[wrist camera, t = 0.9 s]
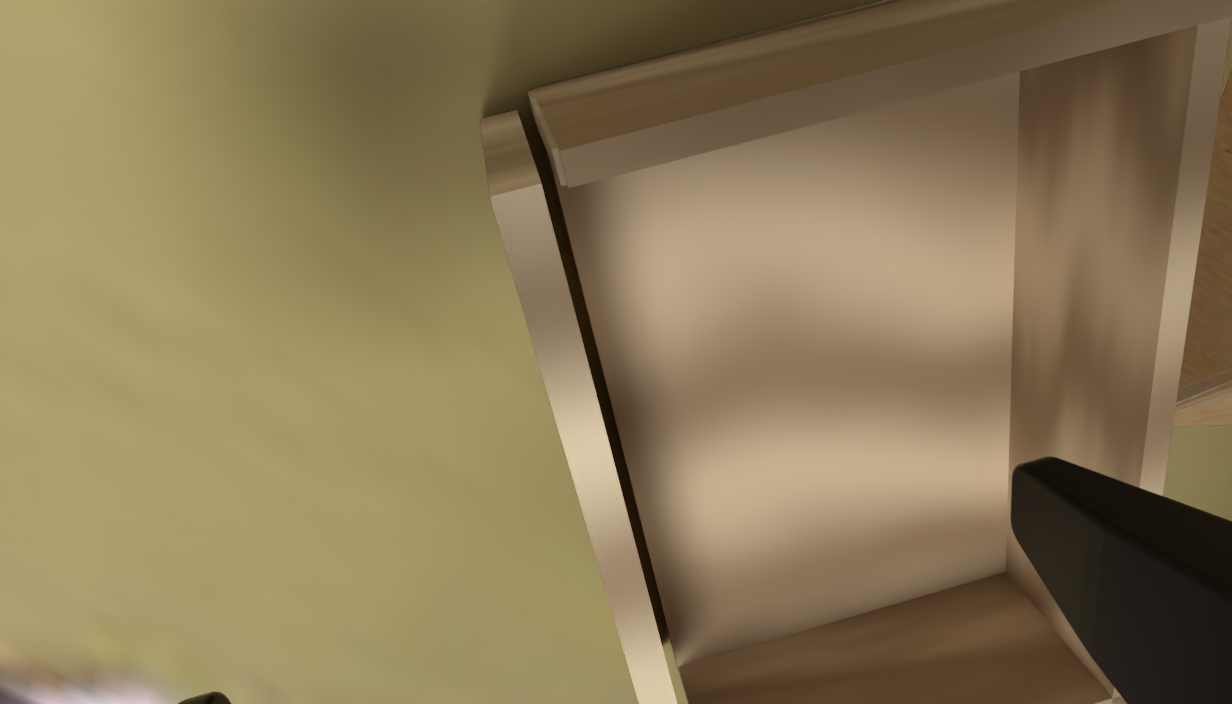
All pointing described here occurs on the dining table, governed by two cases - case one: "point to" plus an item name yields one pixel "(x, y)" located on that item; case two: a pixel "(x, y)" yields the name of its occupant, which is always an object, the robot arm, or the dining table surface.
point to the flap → (572, 395)
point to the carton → (887, 323)
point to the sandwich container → (1211, 296)
